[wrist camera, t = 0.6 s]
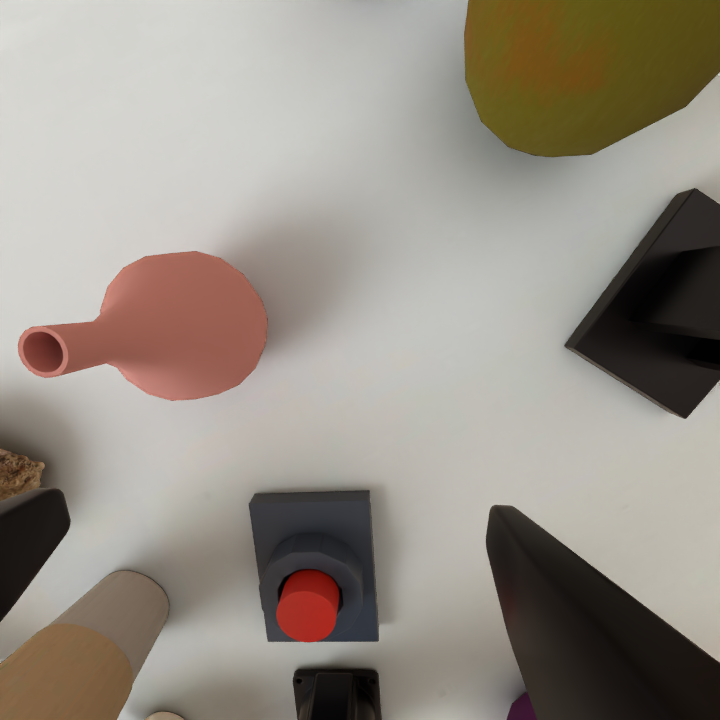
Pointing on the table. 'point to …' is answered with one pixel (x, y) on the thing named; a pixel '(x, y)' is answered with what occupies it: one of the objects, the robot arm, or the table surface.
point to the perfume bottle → (522, 709)
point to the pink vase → (162, 329)
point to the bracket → (663, 310)
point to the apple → (585, 67)
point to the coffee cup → (86, 654)
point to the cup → (164, 716)
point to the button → (308, 605)
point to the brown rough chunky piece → (18, 474)
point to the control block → (318, 555)
